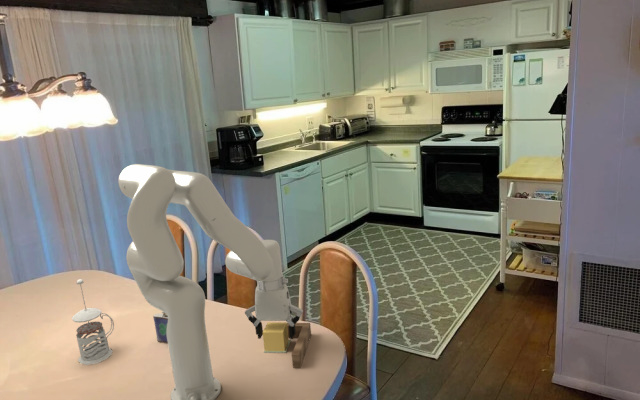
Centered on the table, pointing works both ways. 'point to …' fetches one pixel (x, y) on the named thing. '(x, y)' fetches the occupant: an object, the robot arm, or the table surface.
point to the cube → (275, 336)
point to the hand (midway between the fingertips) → (276, 336)
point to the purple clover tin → (161, 327)
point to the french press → (95, 350)
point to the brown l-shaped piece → (298, 343)
